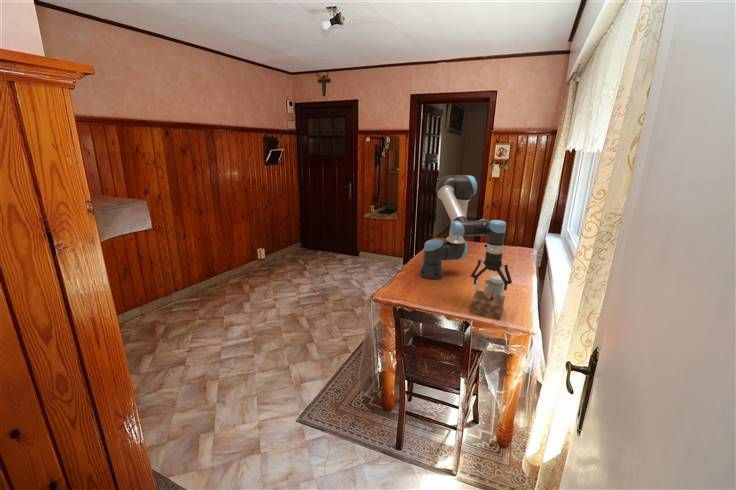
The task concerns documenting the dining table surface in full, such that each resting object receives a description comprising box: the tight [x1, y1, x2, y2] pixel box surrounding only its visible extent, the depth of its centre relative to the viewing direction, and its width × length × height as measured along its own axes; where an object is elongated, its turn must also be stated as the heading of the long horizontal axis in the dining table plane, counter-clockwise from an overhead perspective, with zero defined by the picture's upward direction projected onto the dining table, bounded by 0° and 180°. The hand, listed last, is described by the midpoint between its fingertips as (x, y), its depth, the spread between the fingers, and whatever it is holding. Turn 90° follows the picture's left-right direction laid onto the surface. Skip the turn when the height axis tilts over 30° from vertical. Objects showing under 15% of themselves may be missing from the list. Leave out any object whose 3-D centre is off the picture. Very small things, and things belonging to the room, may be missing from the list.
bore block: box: [469, 290, 506, 321], centre depth 170 cm, size 14×14×7 cm
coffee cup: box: [488, 274, 504, 295], centre depth 185 cm, size 8×8×12 cm
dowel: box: [483, 279, 492, 300], centre depth 169 cm, size 3×3×14 cm
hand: (489, 293), depth 168 cm, fingers open, 12 cm apart
